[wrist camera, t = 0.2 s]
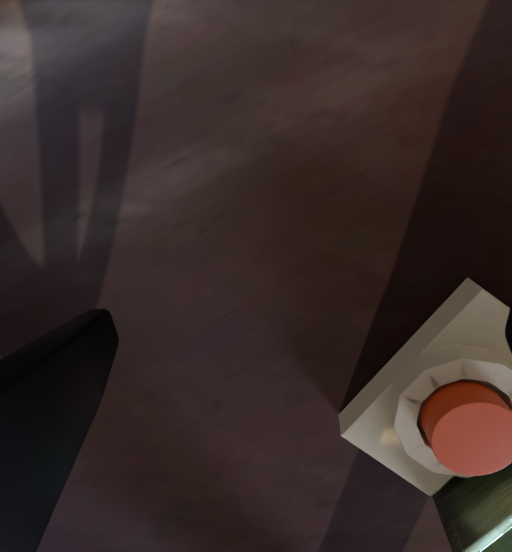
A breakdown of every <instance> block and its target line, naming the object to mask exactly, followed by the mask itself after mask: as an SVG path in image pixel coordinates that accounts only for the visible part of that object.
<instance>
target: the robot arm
mask: <svg viewBox="0 0 512 552" xmlns="http://www.w3.org/2000/svg"><path fill="white" fill-rule="evenodd" d="M505 337H506V341H507V343H508V346H509V348H510V351H511V354H512V303H511V307H510V311H509V315H508V319H507V322H506V326H505ZM118 343H119V338H118V334H117V331H116V328H115V325H114V322H113V319H112V316H111V314H110V312H109V311H108V310H107V309H91V310H88V311H86V312H84V313H83V314H81V315H79V316H77V317H75V318H74V319H72V320H70V321H68V322H66V323H65V324H63V325H61V326H59V327H58V328H56V329H54V330H52V331H50V332H49V333H47V334H45V335H43V336H41V337H40V338H38V339H36V340H34V341H32V342H31V343H29V344H27V345H25V346H23V347H22V348H20V349H18V350H16V351H14V352H13V353H11V354H9V355H7V356H5V357H4V358H2V359H0V552H36V550H37V548H38V545H39V543H40V541H41V538H42V536H43V534H44V532H45V529H46V527H47V525H48V522H49V520H50V518H51V515H52V513H53V511H54V508H55V506H56V504H57V502H58V499H59V497H60V495H61V492H62V490H63V488H64V485H65V483H66V481H67V478H68V476H69V474H70V472H71V469H72V467H73V465H74V462H75V460H76V458H77V455H78V453H79V451H80V448H81V446H82V444H83V442H84V439H85V437H86V435H87V432H88V430H89V428H90V425H91V423H92V421H93V418H94V416H95V414H96V412H97V409H98V407H99V404H100V402H101V399H102V396H103V393H104V390H105V387H106V384H107V381H108V377H109V374H110V371H111V368H112V364H113V361H114V358H115V355H116V351H117V348H118Z"/></svg>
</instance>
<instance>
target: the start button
mask: <svg viewBox="0 0 512 552" xmlns="http://www.w3.org/2000/svg"><path fill="white" fill-rule="evenodd" d="M421 422H422V426H423V429H424V432H425V434H426V436H427V439H428V441H429V443H430V446H431V448H432V450H433V453H434V455H435V456H436V458H437V459H438V460H439V461H440V462H441V463H442V464H443V465H444V466H445V467H447V468H448V469H450V470H452V471H454V472H457V473H460V474H464V475H471V476H479V475H486V474H491V473H494V472H497V471H499V470H501V469H503V468H505V467H506V466H508V465H509V464H510V463H511V462H512V410H511V409H510V408H509V407H508V405H507V404H506V403H505V402H504V400H503V399H502V398H501V397H500V396H499V394H498V393H497V392H495V391H494V390H493V389H491V388H490V387H488V386H486V385H484V384H481V383H477V382H471V381H461V382H454V383H451V384H448V385H445V386H443V387H441V388H439V389H438V390H436V391H435V392H434V393H433V394H432V395H431V396H430V397H429V398H428V399H427V401H426V402H425V404H424V406H423V409H422V414H421Z"/></svg>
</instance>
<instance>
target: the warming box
mask: <svg viewBox="0 0 512 552" xmlns="http://www.w3.org/2000/svg"><path fill="white" fill-rule="evenodd" d="M432 497H433V500H434V502H435V505H436V508H437V511H438V513H439V516H440V519H441V521H442V524H443V527H444V530H445V532H446V535H447V538H448V541H449V543H450V546H451V549H452V552H512V462H511V463H510V464H509V465H508V466H506V467H505V468H503V469H501V470H499V471H497V472H494V473H491V474H486V475H479V476H473V477H468V478H465V477H459V476H452V477H451V478H450V479H449V480H448V481H447V482H446V483H444V484H443V485H442V486H441V487H440V488H439V489H438V490H436V491H435V492H434V493H433V494H432Z"/></svg>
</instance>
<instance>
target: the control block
mask: <svg viewBox="0 0 512 552" xmlns="http://www.w3.org/2000/svg"><path fill="white" fill-rule="evenodd" d="M509 311H510V308H509V307H508V306H506V305H505V304H503V303H502V302H501V301H499V300H498V299H497V298H495V297H494V296H493V295H491V294H490V293H488V292H487V291H486V290H484V289H483V288H482V287H480V286H479V285H478V284H476V283H475V282H473V281H472V280H471V279H469V278H466V279H465V281H464V282H463V283H462V284H461V285H460V286H459V287H458V288H457V289H456V290H455V291H454V292H453V293H452V294H451V295H450V296H449V298H448V299H447V300H446V301H445V302H444V303H443V304H442V305H441V306H440V307H439V308H438V309H437V310H436V311H435V312H434V314H433V315H432V316H431V317H430V318H429V319H428V320H427V321H426V322H425V323H424V324H423V325H422V326H421V327H420V328H419V330H418V331H417V332H416V333H415V334H414V335H413V336H412V337H411V338H410V339H409V340H408V341H407V342H406V343H405V344H404V345H403V347H402V348H401V349H400V350H399V351H398V352H397V353H396V354H395V355H394V356H393V357H392V358H391V359H390V360H389V361H388V363H387V364H386V365H385V366H384V367H383V368H382V369H381V370H380V371H379V372H378V373H377V374H376V375H375V376H374V377H373V379H372V380H371V381H370V382H369V383H368V384H367V385H366V386H365V387H364V388H363V389H362V390H361V391H360V392H359V393H358V394H357V396H356V397H355V398H354V399H353V400H352V401H351V402H350V403H349V404H348V405H347V406H346V407H345V408H344V409H343V410H342V412H341V413H340V414H339V422H340V430H341V436H342V437H344V438H345V439H347V440H348V441H350V442H351V443H353V444H354V445H355V446H357V447H358V448H360V449H361V450H363V451H364V452H366V453H367V454H369V455H370V456H372V457H373V458H375V459H376V460H377V461H379V462H380V463H382V464H383V465H385V466H386V467H388V468H389V469H391V470H392V471H394V472H395V473H397V474H398V475H399V476H401V477H402V478H404V479H405V480H407V481H408V482H410V483H411V484H413V485H414V486H416V487H417V488H419V489H420V490H421V491H423V492H424V493H426V494H427V495H429V496H431V495H432V494H433V493H434V492H435V491H436V490H438V489H439V488H440V487H441V486H442V485H443V484H444V483H446V482H447V481H448V480H449V479H450V478H451V477H452V476H459V477H465V478H468V477H473V476H471V475H464V474H460V473H457V472H454V471H452V470H450V469H448V468H447V467H445V466H444V465H443V464H442V463H441V462H440V461H439V460H438V459H437V458H436V456H435V455H434V453H433V450H432V448H431V446H430V443H429V441H428V439H427V436H426V434H425V432H424V429H423V426H422V422H421V414H422V409H423V406H424V404H425V402H426V401H427V399H428V398H429V397H430V396H431V395H432V394H433V393H434V392H435V391H436V390H438V389H439V388H441V387H443V386H445V385H448V384H451V383H454V382H461V381H471V382H477V383H481V384H484V385H486V386H488V387H490V388H491V389H493V390H494V391H495V392H497V393H498V394H499V396H500V397H501V398H502V399H503V400H504V402H505V403H506V404H507V405H508V407H509V408H510V409H511V410H512V354H511V351H510V348H509V346H508V343H507V341H506V337H505V326H506V322H507V319H508V315H509Z"/></svg>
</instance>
